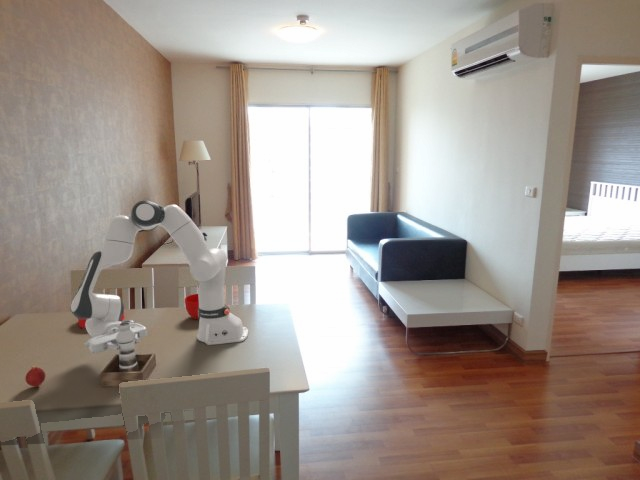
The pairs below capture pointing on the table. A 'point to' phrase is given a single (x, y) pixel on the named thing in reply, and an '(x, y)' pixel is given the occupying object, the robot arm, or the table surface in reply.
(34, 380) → the red pomegranate
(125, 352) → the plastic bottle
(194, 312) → the ceramic cup
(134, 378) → the box
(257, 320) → the table surface
